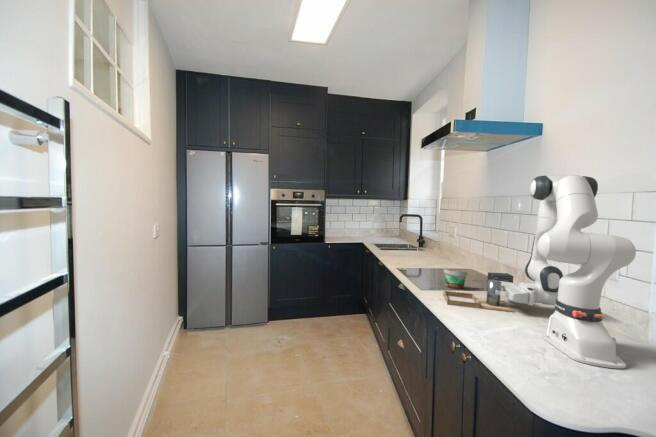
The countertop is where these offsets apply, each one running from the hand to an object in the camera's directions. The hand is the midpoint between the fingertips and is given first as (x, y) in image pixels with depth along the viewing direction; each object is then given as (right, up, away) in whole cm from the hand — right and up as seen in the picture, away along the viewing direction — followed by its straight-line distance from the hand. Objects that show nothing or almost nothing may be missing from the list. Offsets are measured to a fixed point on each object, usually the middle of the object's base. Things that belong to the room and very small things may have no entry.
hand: (492, 289), depth 134 cm
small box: (+14, -7, +18) cm, 24 cm away
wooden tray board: (-6, -7, +2) cm, 10 cm away
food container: (-7, -6, +24) cm, 26 cm away
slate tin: (0, -7, 0) cm, 7 cm away
